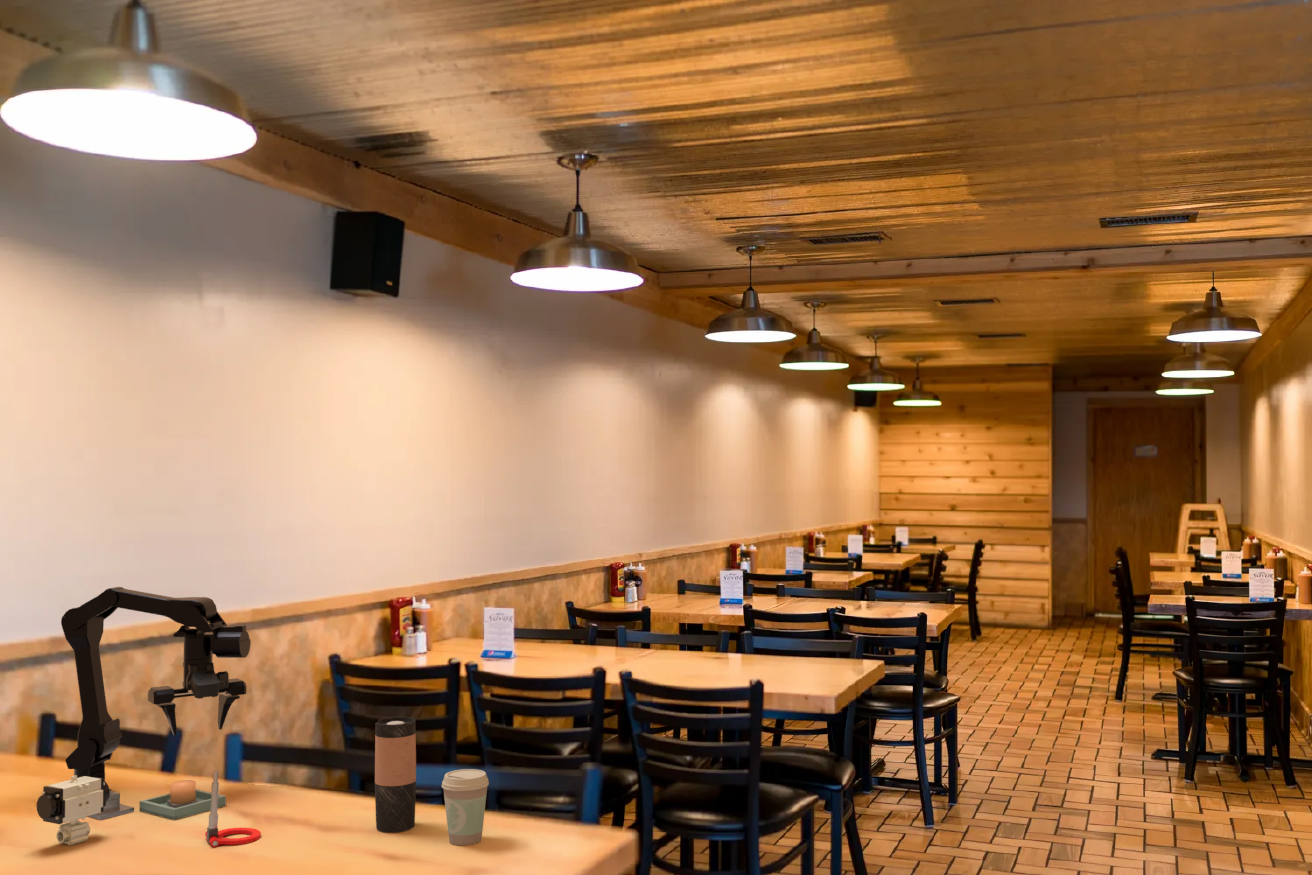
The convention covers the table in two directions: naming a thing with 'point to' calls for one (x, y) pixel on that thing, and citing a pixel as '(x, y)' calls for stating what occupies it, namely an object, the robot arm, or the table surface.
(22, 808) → the table surface
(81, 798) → the pneumatic valve
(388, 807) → the travel mug
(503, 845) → the table surface
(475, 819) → the coffee cup
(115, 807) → the stud fixture
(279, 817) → the table surface
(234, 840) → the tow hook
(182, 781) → the tan cylindrical plug
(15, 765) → the table surface
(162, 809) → the bin
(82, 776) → the robot arm
